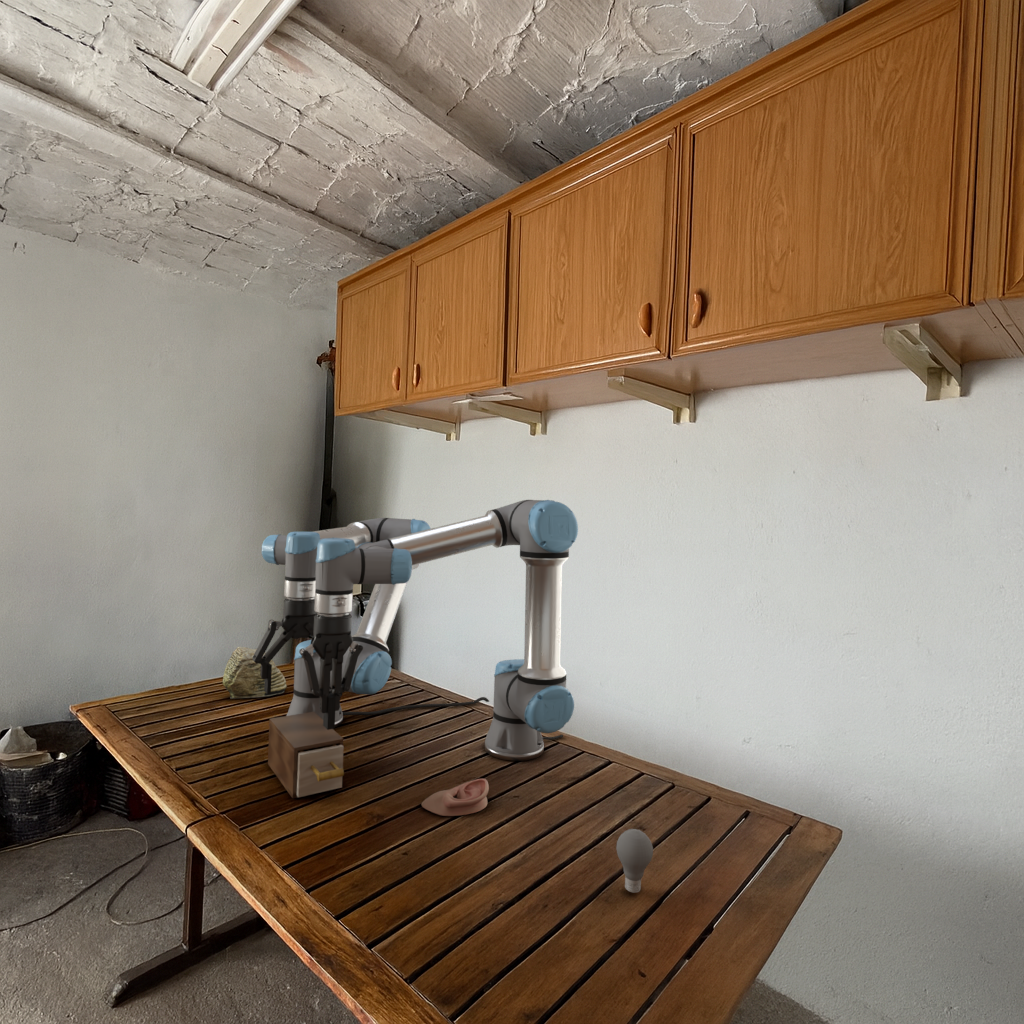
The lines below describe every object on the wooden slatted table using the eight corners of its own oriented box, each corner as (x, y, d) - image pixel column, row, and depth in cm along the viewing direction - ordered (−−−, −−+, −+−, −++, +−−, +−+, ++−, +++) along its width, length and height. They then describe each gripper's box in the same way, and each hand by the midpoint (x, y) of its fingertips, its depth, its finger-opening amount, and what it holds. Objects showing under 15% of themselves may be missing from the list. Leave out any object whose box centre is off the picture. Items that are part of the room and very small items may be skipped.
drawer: (352, 799, 131) (354, 756, 131) (307, 810, 126) (309, 765, 126) (314, 756, 152) (315, 719, 152) (274, 764, 146) (275, 726, 146)
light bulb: (610, 879, 108) (613, 822, 108) (644, 879, 109) (647, 822, 109) (619, 902, 102) (622, 840, 102) (655, 901, 103) (658, 840, 103)
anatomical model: (416, 792, 129) (434, 769, 140) (415, 812, 129) (434, 787, 140) (479, 801, 126) (493, 777, 137) (479, 821, 126) (492, 795, 137)
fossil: (218, 695, 195) (220, 647, 195) (278, 685, 208) (279, 640, 207) (228, 703, 189) (230, 653, 188) (289, 692, 201) (290, 645, 201)
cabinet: (341, 787, 138) (343, 738, 138) (292, 798, 132) (294, 747, 132) (312, 755, 155) (314, 711, 154) (267, 764, 149) (269, 718, 148)
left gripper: (248, 603, 137) (244, 700, 138) (358, 597, 152) (354, 685, 152) (240, 598, 144) (237, 691, 144) (346, 592, 158) (343, 677, 158)
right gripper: (307, 618, 124) (302, 738, 124) (370, 614, 131) (365, 727, 132) (295, 612, 130) (291, 726, 130) (356, 608, 137) (352, 716, 138)
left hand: (297, 688), depth 148 cm, fingers open, 13 cm apart
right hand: (328, 726), depth 131 cm, fingers closed
